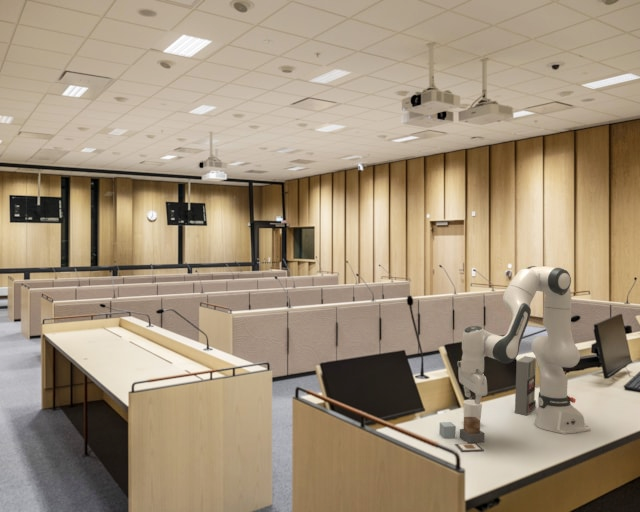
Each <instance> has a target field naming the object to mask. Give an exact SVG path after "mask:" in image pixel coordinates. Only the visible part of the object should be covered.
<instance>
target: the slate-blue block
mask: <svg viewBox="0 0 640 512" xmlns="http://www.w3.org/2000/svg"><path fill="white" fill-rule="evenodd" d="M456 427H457V425H455V424H454V423H453V422H451V421H447V422H445V421H442V422H439V435H440V437H442V438H443V439H456V435H457V434H456V432H457V431H456V429H457V428H456Z"/></svg>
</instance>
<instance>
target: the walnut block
mask: <svg viewBox="0 0 640 512" xmlns="http://www.w3.org/2000/svg"><path fill="white" fill-rule="evenodd" d="M463 429H464V430H465V431H466V432H467V433H480V431H481V420H479V419H478V418H476V417H464V416H463Z"/></svg>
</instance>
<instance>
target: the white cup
mask: <svg viewBox="0 0 640 512" xmlns="http://www.w3.org/2000/svg"><path fill="white" fill-rule="evenodd" d="M462 405H463V408H462V409H463V418H464V417H476V418H478V419H479V420H480V421H481V418H482V408H483V407H482V406H483V402H482V401H480V404H478V405H477V404H475V399H465V400H463V404H462Z"/></svg>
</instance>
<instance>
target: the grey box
mask: <svg viewBox="0 0 640 512" xmlns="http://www.w3.org/2000/svg"><path fill="white" fill-rule="evenodd" d="M536 364H537V359H536V357H534V356H533V357H532V356H526V355H524V356H523V357H521V358H519V359H518V360H516V366H515V367H516V368H515V371H516V372H515V373H516V374H515V396H514V397H515V399H514V402H515V403H514V413H515V414H520V415H525V416H529V414H530V413H532V412H533V411H534V410H535V409H536V403H537V401H536V399H535V397H536V396H535V395H536V393H535V392H536V372H537V371H536V368H537V367H536Z"/></svg>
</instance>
